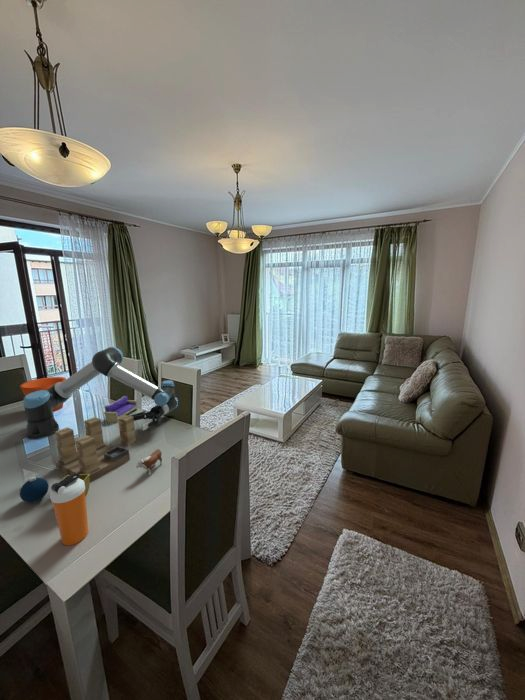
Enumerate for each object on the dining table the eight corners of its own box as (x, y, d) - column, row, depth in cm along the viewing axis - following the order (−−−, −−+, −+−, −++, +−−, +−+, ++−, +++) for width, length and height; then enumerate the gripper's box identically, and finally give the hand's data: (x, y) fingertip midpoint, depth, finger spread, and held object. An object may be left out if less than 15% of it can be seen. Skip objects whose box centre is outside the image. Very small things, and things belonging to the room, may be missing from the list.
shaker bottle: (98, 528, 92) (90, 474, 88) (72, 552, 84) (62, 493, 80) (78, 522, 95) (69, 469, 91) (51, 543, 86) (40, 486, 83)
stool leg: (121, 444, 145) (118, 419, 143) (128, 439, 150) (125, 415, 147) (128, 445, 144) (125, 420, 141) (136, 440, 148) (133, 416, 146)
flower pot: (69, 495, 108) (66, 474, 106) (93, 494, 108) (90, 473, 107) (54, 513, 99) (50, 490, 97) (80, 511, 100) (77, 488, 98)
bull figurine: (135, 478, 117) (133, 461, 116) (158, 461, 129) (156, 445, 128) (143, 481, 116) (141, 463, 114) (165, 463, 128) (164, 447, 126)
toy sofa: (117, 423, 170) (115, 407, 168) (104, 422, 172) (102, 406, 170) (138, 409, 190) (137, 395, 188) (127, 409, 192) (125, 394, 190)
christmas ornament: (46, 489, 112) (42, 466, 110) (53, 498, 106) (48, 474, 104) (19, 501, 105) (14, 477, 103) (24, 511, 100) (20, 486, 98)
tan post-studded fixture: (56, 468, 125) (49, 432, 122) (99, 447, 143) (95, 415, 139) (86, 484, 114) (80, 445, 111) (130, 459, 131) (126, 425, 128)
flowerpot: (52, 416, 181) (47, 387, 177) (14, 417, 181) (9, 388, 177) (78, 402, 205) (74, 376, 202) (44, 402, 206) (40, 377, 202)
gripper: (177, 419, 165) (152, 436, 145) (143, 414, 173) (115, 429, 153) (176, 407, 163) (151, 422, 143) (141, 402, 171) (113, 416, 151)
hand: (132, 426), depth 148 cm, fingers open, 13 cm apart
